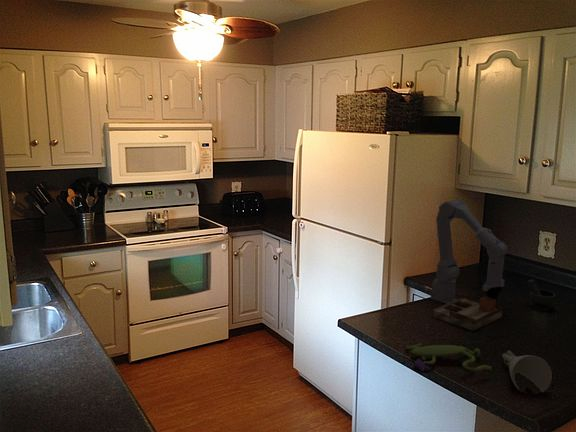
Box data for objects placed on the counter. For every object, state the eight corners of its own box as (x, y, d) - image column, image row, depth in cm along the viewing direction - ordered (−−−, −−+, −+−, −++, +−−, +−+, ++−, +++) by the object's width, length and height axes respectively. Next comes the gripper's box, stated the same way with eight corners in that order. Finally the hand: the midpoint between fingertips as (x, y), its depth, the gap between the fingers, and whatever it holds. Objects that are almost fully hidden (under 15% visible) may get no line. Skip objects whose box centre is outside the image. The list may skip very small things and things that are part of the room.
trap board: (431, 316, 208) (432, 305, 207) (461, 304, 223) (462, 293, 222) (473, 331, 195) (474, 319, 194) (501, 317, 209) (502, 305, 208)
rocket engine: (507, 334, 171) (530, 347, 153) (534, 358, 170) (560, 374, 152) (483, 360, 171) (503, 376, 153) (509, 384, 170) (533, 403, 152)
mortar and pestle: (554, 307, 222) (557, 280, 220) (553, 314, 214) (557, 286, 212) (525, 301, 227) (528, 275, 225) (523, 308, 219) (527, 281, 217)
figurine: (490, 386, 157) (492, 369, 156) (401, 370, 166) (402, 353, 165) (488, 359, 175) (489, 343, 173) (407, 345, 183) (408, 331, 182)
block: (478, 309, 210) (479, 298, 209) (484, 306, 212) (485, 296, 211) (489, 312, 206) (490, 301, 205) (494, 309, 209) (496, 299, 208)
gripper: (495, 278, 201) (492, 311, 204) (513, 271, 210) (509, 302, 213) (478, 273, 206) (475, 306, 209) (496, 267, 216) (493, 298, 218)
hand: (491, 304), depth 211 cm, fingers closed
